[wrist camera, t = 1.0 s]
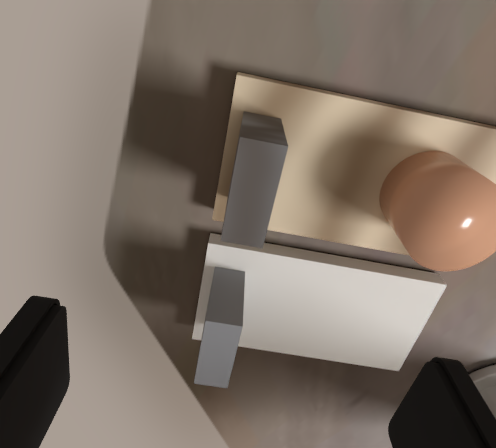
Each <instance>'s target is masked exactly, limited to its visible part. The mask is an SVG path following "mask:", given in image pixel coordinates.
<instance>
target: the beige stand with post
mask: <svg viewBox="0 0 496 448" xmlns="http://www.w3.org/2000/svg"><path fill="white" fill-rule="evenodd" d="M425 151H442V152H446V153H449V154H451V155H453V156H455V157H456V158H458V159H459V160H461V161H462V162H464V163H465V164H467V165H468V166H470V167H471V168H473V169H474V170H476V171H477V172H479V173H480V174H482V175H483V176H485V177H486V178H487V179H489V180H490V181H492V182H493V183H495V184H496V126H491V125H486V124H482V123H477V122H472V121H467V120H463V119H458V118H453V117H449V116H444V115H439V114H434V113H430V112H425V111H420V110H415V109H411V108H406V107H401V106H397V105H392V104H387V103H382V102H378V101H373V100H368V99H363V98H359V97H354V96H349V95H345V94H340V93H335V92H330V91H326V90H321V89H316V88H312V87H307V86H302V85H297V84H293V83H288V82H283V81H278V80H274V79H269V78H264V77H260V76H255V75H250V74H245V73H241V72H238V73H237V76H236V82H235V88H234V94H233V100H232V106H231V112H230V118H229V123H228V129H227V135H226V141H225V147H224V153H223V159H222V165H221V171H220V176H219V182H218V188H217V194H216V200H215V206H214V212H213V218H212V220H216V221H222V222H224V223H223V229H222V235H221V241H223V242H228V243H234V244H240V245H245V246H251V247H257V248H262V249H263V245H264V241H265V237H266V233H267V230H271V231H277V232H282V233H288V234H293V235H299V236H305V237H310V238H316V239H321V240H327V241H332V242H338V243H343V244H349V245H354V246H360V247H365V248H371V249H377V250H382V251H388V252H393V253H399V254H404V255H410V254H409V253H408V251H407V250H406V248H405V247H404V245H403V244H402V242H401V241H400V239H399V238H398V236H397V235H396V233H395V232H394V230H393V229H392V227H391V226H390V224H389V223H388V221H387V220H386V218H385V217H384V215H383V213H382V211H381V208H380V202H379V195H380V190H381V187H382V184H383V182H384V180H385V178H386V177H387V175H388V174H389V173H390V171H391V170H392V169H393V168H394V167H395V166H396V165H397V164H399V163H400V162H401V161H403V160H404V159H406V158H408V157H410V156H412V155H414V154H417V153H421V152H425Z"/></svg>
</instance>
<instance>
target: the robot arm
mask: <svg viewBox="0 0 496 448" xmlns="http://www.w3.org/2000/svg"><path fill="white" fill-rule="evenodd" d="M66 315H67V313H66V307H64V306H60V302H59V300H58V299H52V298H46V297H40V296H31V297H30V298H29V299H28V300H27V301H26V303H25V304H24V305H23V307H22V308H21V309H20V310H19V311H18V313H17V314H16V315H15V316H14V318H13V319H12V320H11V322H10V323H9V324H8V325H7V326H6V328H5V329H4V330H3V332H2V333H1V334H0V448H39V446H40V444H41V442H42V440H43V438H44V436H45V434H46V432H47V430H48V428H49V426H50V424H51V422H52V420H53V418H54V416H55V414H56V412H57V410H58V408H59V406H60V404H61V402H62V400H63V398H64V396H65V394H66V392H67V389H68V386H69V380H70V373H69V353H68V333H67V316H66ZM388 432H389V437H390V440H391V444H392V447H393V448H496V365H492V366H488V367H485V368H482V369H480V370H477V371H475V372H473V373H471V374H468V372H467V371H466V369H465V368H464V366H463V365H462V363H461V362H459V361H458V360H452V359H445V358H439V357H435V358H433V359H432V360H431V361H430V362H427V363H426V364H425V365H424V366H423V368H422V370H421V371H420V373H419V375H418V376H417V378H416V380H415V381H414V383H413V384H412V386H411V388H410V389H409V391H408V393H407V394H406V396H405V398H404V399H403V401H402V402H401V404H400V406H399V407H398V409H397V411H396V412H395V414H394V416H393V417H392V419H391V420H390V423H389V426H388Z"/></svg>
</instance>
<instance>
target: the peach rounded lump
mask: <svg viewBox="0 0 496 448" xmlns="http://www.w3.org/2000/svg"><path fill="white" fill-rule="evenodd" d="M379 202H380V208H381V211H382V213H383V215H384V217H385V218H386V220H387V221H388V223H389V224H390V226H391V227H392V229H393V230H394V232H395V233H396V235H397V236H398V238H399V239H400V241H401V242H402V244H403V245H404V247H405V248H406V250H407V251H408V253H409V254H410V256H411V257H412V258H413V259H414V260H415V261H416V262H417V263H418V264H420V265H422V266H424V267H426V268H428V269H432V270H436V271H456V270H461V269H464V268H468V267H470V266H473V265H475V264H477V263H479V262H481V261H483V260H484V259H486V258H488V257H489V256H490V255H492V254H493V253H494V252H495V251H496V184H495V183H493V182H492V181H490V180H489V179H487V178H486V177H485V176H483V175H482V174H480V173H479V172H477V171H476V170H474V169H473V168H471V167H470V166H468V165H467V164H465V163H464V162H462V161H461V160H459V159H458V158H456V157H455V156H453V155H451V154H449V153H446V152H442V151H425V152H421V153H417V154H414V155H412V156H410V157H408V158H406V159H404V160H403V161H401V162H400V163H399V164H397V165H396V166H395V167H394V168H393V169H392V170H391V171H390V173H389V174H388V175H387V177H386V178H385V180H384V182H383V184H382V187H381V190H380V195H379Z"/></svg>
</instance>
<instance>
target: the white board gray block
mask: <svg viewBox="0 0 496 448" xmlns="http://www.w3.org/2000/svg"><path fill="white" fill-rule="evenodd" d="M446 286H447V284H446V283H445V281H444V280H443V279H442V277H441V276H440V274H438V273H432V272H426V271H421V270H415V269H410V268H404V267H398V266H393V265H387V264H381V263H376V262H370V261H365V260H359V259H353V258H348V257H342V256H336V255H331V254H325V253H320V252H314V251H308V250H303V249H297V248H291V247H286V246H280V245H275V244H269V243H264V245H263V249H262V248H257V247H251V246H245V245H240V244H234V243H228V242H223V241H221V235H218V234H213V233H210V237H209V242H208V247H207V253H206V259H205V265H204V271H203V277H202V283H201V288H200V294H199V300H198V306H197V312H196V318H195V324H194V330H193V336H192V339H195V340H201V345H200V351H199V356H198V362H197V368H196V374H195V380H194V384H201V385H208V386H214V387H221V388H227V387H228V383H229V379H230V375H231V371H232V367H233V363H234V359H235V356H236V352H237V348H238V346H240V347H246V348H253V349H259V350H266V351H272V352H278V353H285V354H291V355H298V356H304V357H311V358H317V359H323V360H330V361H336V362H343V363H349V364H355V365H362V366H368V367H375V368H381V369H388V370H394V371H399V370H400V368H401V366H402V365H403V363H404V361H405V359H406V357H407V356H408V354H409V352H410V350H411V349H412V347H413V345H414V343H415V341H416V340H417V338H418V336H419V334H420V333H421V331H422V329H423V327H424V325H425V324H426V322H427V320H428V318H429V316H430V315H431V313H432V311H433V309H434V308H435V306H436V304H437V302H438V300H439V299H440V297H441V295H442V293H443V292H444V290H445V288H446Z"/></svg>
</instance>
